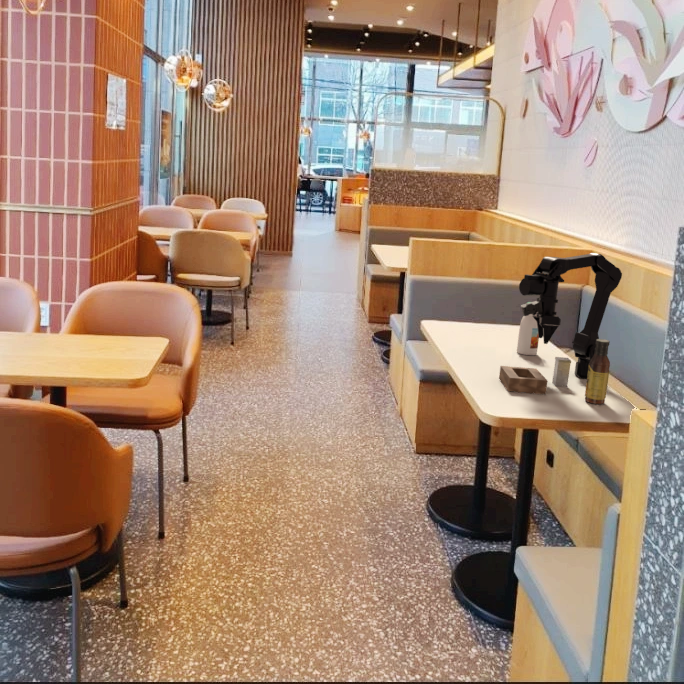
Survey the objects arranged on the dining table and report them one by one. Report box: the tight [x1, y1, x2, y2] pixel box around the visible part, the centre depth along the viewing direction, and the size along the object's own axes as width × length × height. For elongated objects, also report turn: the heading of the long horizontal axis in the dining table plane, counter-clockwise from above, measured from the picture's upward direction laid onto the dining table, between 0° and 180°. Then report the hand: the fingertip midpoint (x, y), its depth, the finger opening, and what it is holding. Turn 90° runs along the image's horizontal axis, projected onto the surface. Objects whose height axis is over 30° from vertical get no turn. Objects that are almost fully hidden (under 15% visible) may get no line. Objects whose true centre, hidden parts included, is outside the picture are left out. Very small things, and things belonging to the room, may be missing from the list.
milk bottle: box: [516, 301, 540, 356], centre depth 324 cm, size 8×8×20 cm
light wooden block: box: [552, 356, 572, 388], centre depth 279 cm, size 4×4×9 cm
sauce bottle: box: [584, 338, 611, 405], centre depth 259 cm, size 6×6×20 cm
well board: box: [498, 365, 549, 395], centre depth 273 cm, size 12×16×4 cm
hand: (542, 340), depth 283 cm, fingers open, 9 cm apart
